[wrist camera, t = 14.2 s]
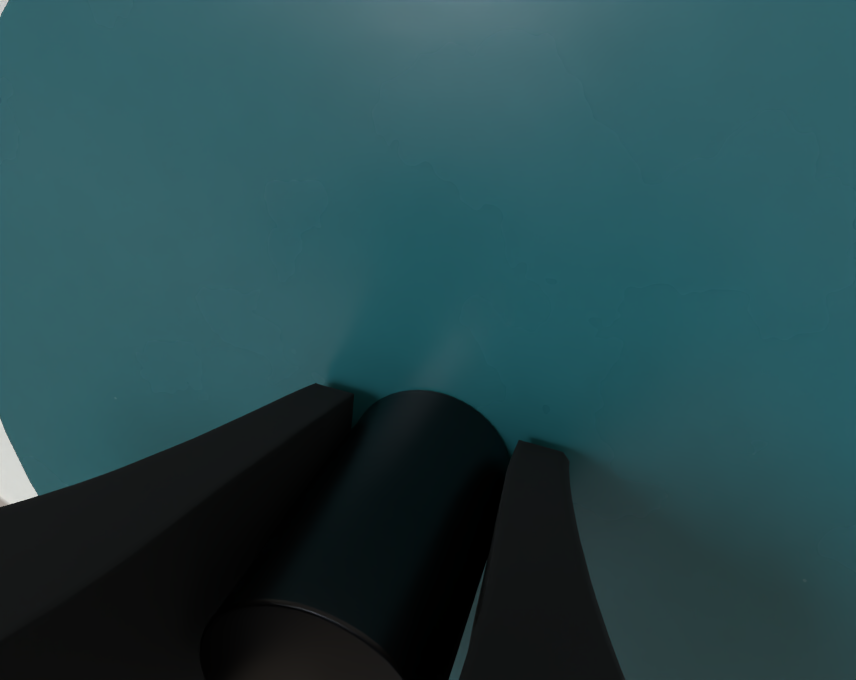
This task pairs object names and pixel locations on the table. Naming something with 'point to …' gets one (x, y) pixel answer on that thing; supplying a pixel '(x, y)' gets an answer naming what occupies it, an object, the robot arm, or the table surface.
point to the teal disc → (457, 302)
